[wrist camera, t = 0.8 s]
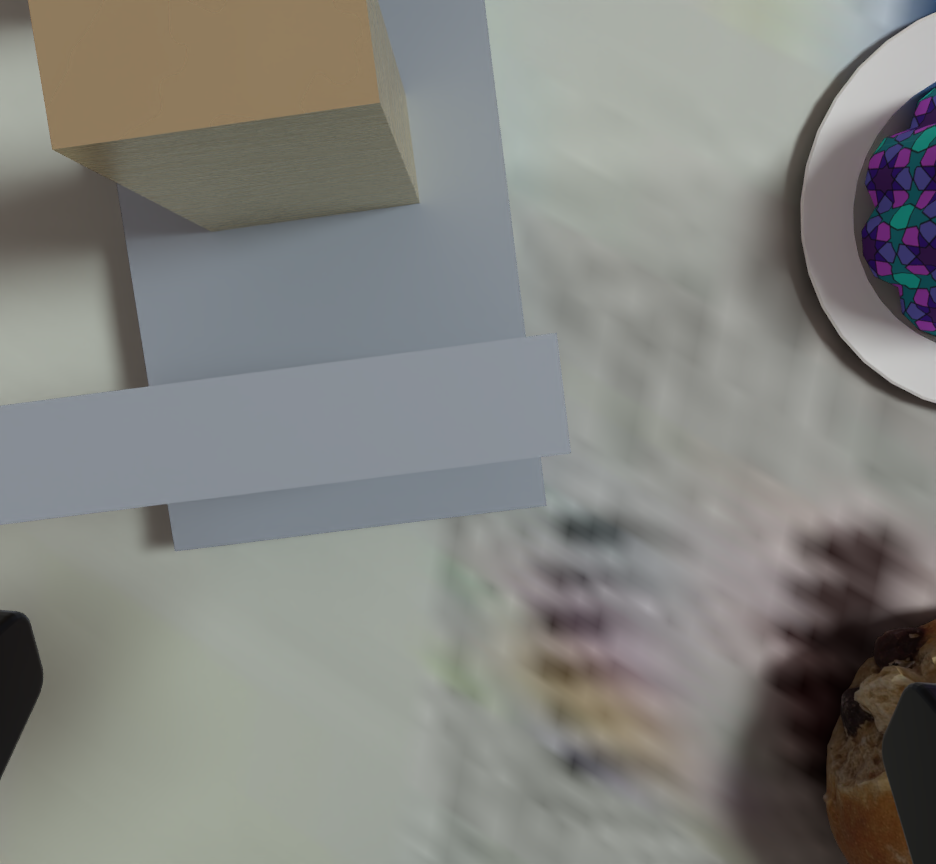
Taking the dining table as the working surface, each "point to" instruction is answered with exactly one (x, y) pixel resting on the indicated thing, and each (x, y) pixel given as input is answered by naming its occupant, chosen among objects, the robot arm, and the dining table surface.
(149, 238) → the plate
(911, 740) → the robot arm
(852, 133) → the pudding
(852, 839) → the bread roll
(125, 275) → the dining table surface
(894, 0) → the dining table surface
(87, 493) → the sliding jaw
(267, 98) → the brass block
